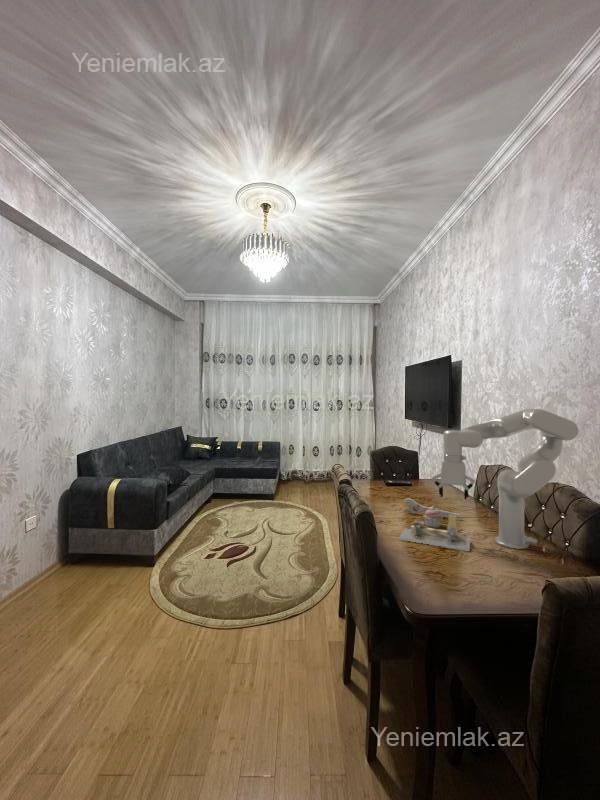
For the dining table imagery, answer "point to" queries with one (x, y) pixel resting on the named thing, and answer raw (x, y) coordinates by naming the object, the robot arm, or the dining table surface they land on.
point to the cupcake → (433, 517)
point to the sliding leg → (452, 526)
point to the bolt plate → (435, 540)
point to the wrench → (424, 509)
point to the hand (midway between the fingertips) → (453, 497)
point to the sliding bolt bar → (435, 531)
